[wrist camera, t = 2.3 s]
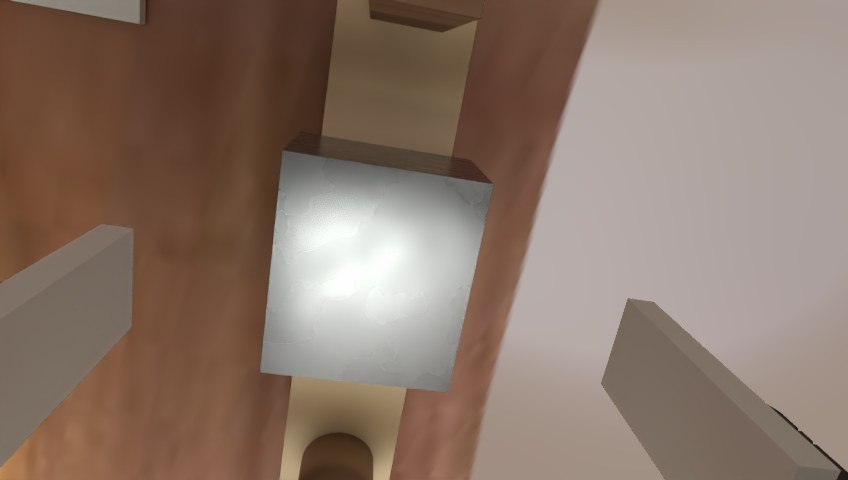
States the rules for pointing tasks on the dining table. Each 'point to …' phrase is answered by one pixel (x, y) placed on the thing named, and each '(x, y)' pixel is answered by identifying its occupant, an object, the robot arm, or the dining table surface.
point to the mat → (100, 8)
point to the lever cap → (371, 262)
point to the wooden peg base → (395, 127)
